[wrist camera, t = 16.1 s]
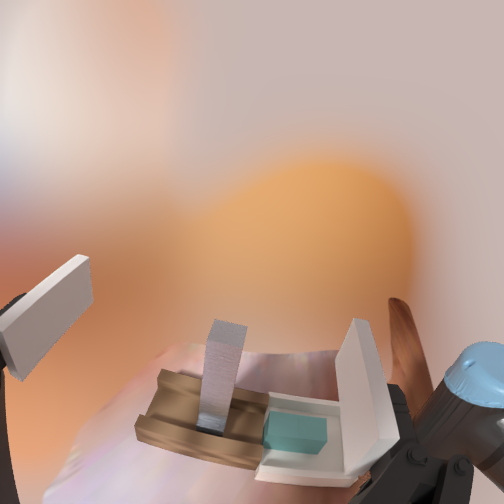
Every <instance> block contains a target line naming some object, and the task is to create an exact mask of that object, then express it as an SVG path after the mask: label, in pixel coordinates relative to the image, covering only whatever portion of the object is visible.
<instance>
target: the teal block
mask: <svg viewBox="0 0 504 504" xmlns="http://www.w3.org/2000/svg"><path fill="white" fill-rule="evenodd" d="M298 427H299V415H295V414H289V413H282V412H276V411H270V412H269V415H268V417H267V420H266V422H265V425H264V431H263V439H262V445H264V446H263V448H266V449H273V450H280V451H287V452H290V451H291V449H292V448H293V446H294V444H295V443H296V441H297V439H298Z"/></svg>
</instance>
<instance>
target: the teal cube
mask: <svg viewBox="0 0 504 504" xmlns="http://www.w3.org/2000/svg"><path fill="white" fill-rule="evenodd" d="M326 443H327V419H326V418H319V417H311V416H303V415H299V427H298V439H297V441H296V443H295V444H294V446H293V448H292V449H291V451H290V452H296V453H305V454H316V455H318V453H319V452H320V451H321V449H322V448H323V447H324V445H325V444H326Z"/></svg>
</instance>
